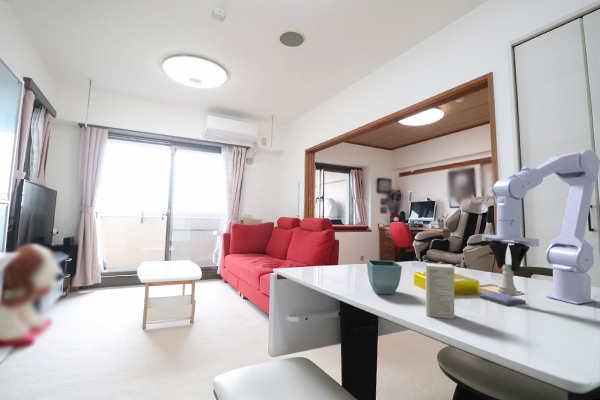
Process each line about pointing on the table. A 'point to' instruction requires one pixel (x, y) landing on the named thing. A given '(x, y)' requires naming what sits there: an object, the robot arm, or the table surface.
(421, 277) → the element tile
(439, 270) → the skincare box
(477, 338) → the table surface
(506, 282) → the rook chess piece
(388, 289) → the flower pot
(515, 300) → the ink pad
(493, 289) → the mat
